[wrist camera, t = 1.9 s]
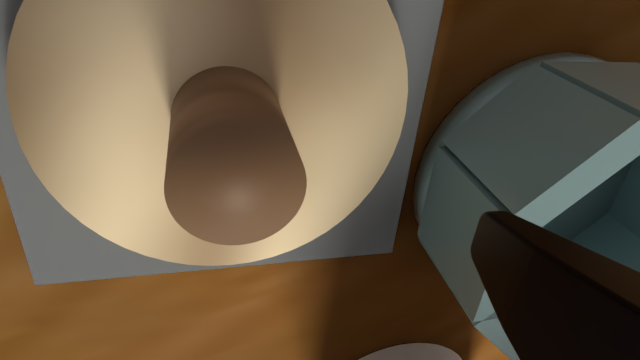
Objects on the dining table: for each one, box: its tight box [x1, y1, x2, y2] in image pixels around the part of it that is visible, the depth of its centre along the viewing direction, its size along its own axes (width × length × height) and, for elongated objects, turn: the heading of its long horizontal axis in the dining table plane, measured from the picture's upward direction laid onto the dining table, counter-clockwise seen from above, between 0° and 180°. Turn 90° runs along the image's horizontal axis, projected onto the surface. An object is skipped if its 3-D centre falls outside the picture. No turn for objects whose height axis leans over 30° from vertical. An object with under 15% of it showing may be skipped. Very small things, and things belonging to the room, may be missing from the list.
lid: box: [5, 0, 408, 266], centre depth 11 cm, size 10×10×4 cm
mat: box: [0, 0, 444, 285], centre depth 13 cm, size 12×12×1 cm
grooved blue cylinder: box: [413, 52, 640, 360], centre depth 15 cm, size 9×9×5 cm
